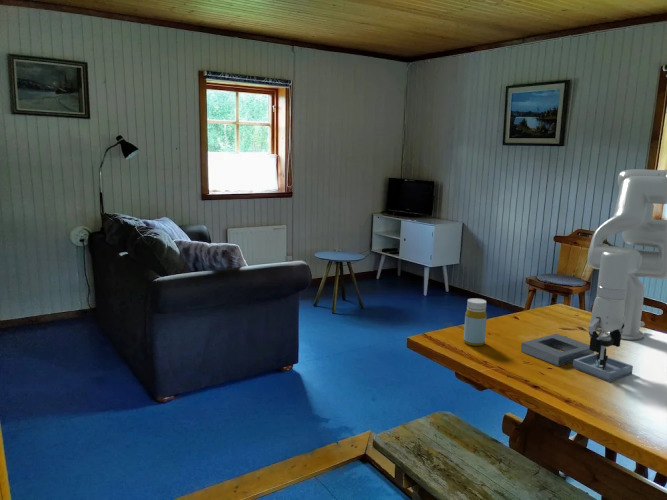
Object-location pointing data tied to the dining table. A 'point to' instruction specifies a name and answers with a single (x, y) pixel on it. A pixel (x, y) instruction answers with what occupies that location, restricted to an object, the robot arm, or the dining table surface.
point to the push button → (604, 351)
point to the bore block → (556, 357)
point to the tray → (610, 372)
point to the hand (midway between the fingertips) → (604, 348)
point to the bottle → (475, 322)
